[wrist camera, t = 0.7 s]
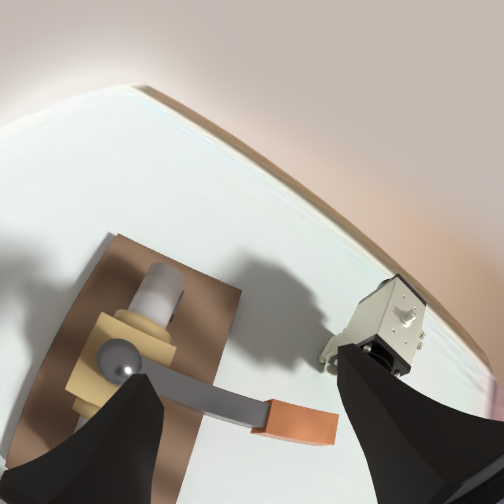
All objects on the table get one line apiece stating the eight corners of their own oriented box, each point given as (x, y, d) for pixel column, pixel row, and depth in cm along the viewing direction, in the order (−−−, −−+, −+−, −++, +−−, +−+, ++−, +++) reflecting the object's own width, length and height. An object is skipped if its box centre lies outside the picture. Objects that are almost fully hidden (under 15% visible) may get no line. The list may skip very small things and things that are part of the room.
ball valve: (162, 536, 13) (176, 572, 8) (10, 465, 11) (-29, 472, 5) (237, 295, 30) (267, 257, 24) (118, 240, 28) (120, 189, 22)
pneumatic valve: (293, 384, 26) (379, 347, 18) (338, 311, 34) (407, 259, 25) (331, 413, 26) (422, 388, 17) (368, 338, 33) (440, 294, 25)
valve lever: (93, 376, 14) (88, 369, 12) (110, 340, 16) (107, 329, 14) (314, 448, 16) (333, 447, 15) (320, 415, 18) (339, 411, 16)
